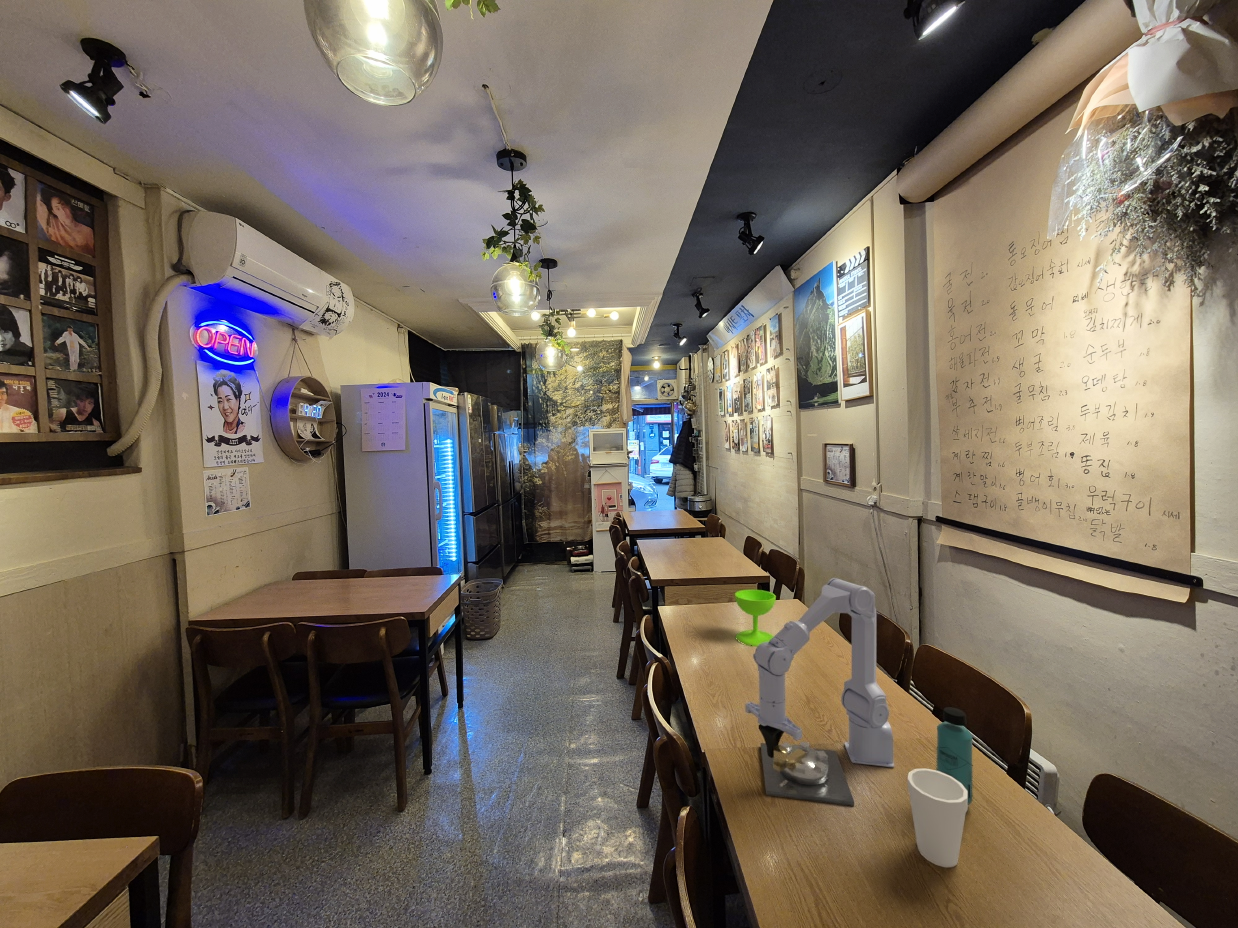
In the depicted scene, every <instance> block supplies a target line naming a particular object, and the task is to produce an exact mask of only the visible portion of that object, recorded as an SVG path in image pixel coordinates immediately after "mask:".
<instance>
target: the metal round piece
mask: <svg viewBox="0 0 1238 928" xmlns="http://www.w3.org/2000/svg"><path fill="white" fill-rule="evenodd" d="M810 744H811V743H810V742H806V741H803V740H801V741H800V743H799V744H790V743H789V742H788V741H787V742H786V741H785V742H784V743H781V744H780V745H781V746H775V747H774V749H773V751H774V763H773V768H774V769H776V770H777V771H779V772H782V773H783V775H785V776H786V777H787V778H789V779H790V780H792V781H795V782H797V783H801V784H806V785H817V784H821V783H823V782H825V781H826V780H827V778H828V761H827V760H828V756H827V755H826V753H825V752H824V751H817V750H815V749H816V748H814V747H810ZM813 748H814V749H813Z"/></svg>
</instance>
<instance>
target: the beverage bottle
mask: <svg viewBox="0 0 1238 928" xmlns="http://www.w3.org/2000/svg"><path fill="white" fill-rule="evenodd" d="M942 719H943V721H944V722H941V723H938V725H937V726H936V730H937V732H936V733H937V735H936V738H937V741H936V743H937V745H936V749H935V751H936V760H935V761H936V764H935V766H936V771H940V772H942V773H944V774H947V775H949V776H951V777H953V778H954V779H956V780H957V781H959V782H960V783H962V785H963V786H964V787H965V789H966V790H967V791H968V806H970V805H971V804H972V802H973V800H974V799H973V775H974V770H973V767H974V765H973V738H974V737H973V735H972V732H971V731H969V729H967V727H966V725H967V724H968V723H967V714H966V713H965V712H964V711H963V710H961V709H959V708H956V707H951V706H950V707H949V706H948V707H944V708H943V714H942Z"/></svg>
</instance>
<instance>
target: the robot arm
mask: <svg viewBox="0 0 1238 928" xmlns="http://www.w3.org/2000/svg"><path fill="white" fill-rule="evenodd" d="M820 593H821V594H820V595H819V596H818V597H817V599H816V600H815V601H814V602H813V603H812V604H811V606H809V608H808V609H807V610H806V612H805V613H803V615H802V616H801V617H800V618H799V619H798V620H791V621H790V620H789V621H788V622H786V623H784V624H783V628H781V629H780V630H779V631H778V632H777V633H776V634H775V635H773V636H774V637H773V638H772V639H771V640H770V641H769V642H766V643H765V642H763V643H761V644H759V645H758V646H757V647H755V652H754V653H753V654H752V658H753V660H754V662H755V663H756V665H757V671H758V702H759V704H757V703H754V702H752V701H749V702H747V703H745V704H744V706H745V707H744V709H745V713H747V714H752V715H754V716H755V717H756V718H757V723H758V730H759V731H760V733H761V736H762V737H763V739H764V743H766V746H767V754H768V756H769V757H770V758H773V757H774V751H773V749H774V747H775V746H778V745H780V744H779V743H780V741H781V739H782V737H783V735H784V733H785V734H787V735H789V736H791V737H792V739H793V740H794V741H796V742H797V741H799V740H801V739H803V729H802V728H800V727H799V726H797V725H796V724H795V722H793V721H792V720H791V719H790V718H789V717H788V716H787V715H786V673H787V672H788V671H789V670H790V668H791V666H792V661H793V660H794V658H795V655H796V654H797V653H798V652H800V650H801V649H802V648H803V647H804V646H805V645H806V644H807V643H808V642H810V639H811V638H810V637H811V635H810V633H811V632H812V631H814V629H816V628H817V627H818V626H819V625H820V624H821V623H823V622H824V621H826V620H827V619H828V618H829V617H830V616H831V615H833V614H834V613H835V614H837V613H838V614H848V615H849V616H850V617H851V678H850V679H847V680H846V681H844V683H843V690H842V693H841V696H840V702H841V705H842V707H843V708H844V709H845V711H846V715H847V716H848V741H845V742H844V743H843V744H844V746H845V749H846V752H847V755H848V757H849V759H850V762H851V763H852V764H860V765H872V766H879V767H887V768H895V763H894V736H893V729H892V726H891V724H890V722H889V721H888V720H889V717H890V709H889V706H888V703H887V695H886V693H885V692H884V690H883V689H882V688H881V687H880V686H879V684H878V682H877V609H876V604H875V603H876V595H875V593H874V592H873V591H872V590H871V589H870V588H868V587H867V586H865V585H859V584H856V583H852V582H849V581H846V580H843V579H840V578H839V577H832V578H831V579H829V580H828V581H827V582H826V584H824V585H823V586H821V591H820Z"/></svg>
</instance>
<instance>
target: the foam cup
mask: <svg viewBox="0 0 1238 928" xmlns="http://www.w3.org/2000/svg"><path fill="white" fill-rule="evenodd" d="M907 791H908V794H909V801H910V806H911V814H912V815H911V816H912V820H913V826H914V828H913V829H914V834H915V840H916V845H917V849H918V851H919V853H920V854H921V856H923V857H924V858H925V859H926V860H927V861H928V862H930V863H932V864H934V865H936V866H939V867H942V868H954V867H955V866H957V865H958V861H959V857H960V851H961V844H962V838H963V833H964V832H963V831H964V825H965V819H966V813H967V812H968V806H969V805H968V791H967V790H966V789H965V787H964V786H963V785H962V783H960V782H959V781H957V780H956V779H954V778H953V777H951V776H949V775H947V774H944V773H942V772H940V771H937V769H936V770H935V769H931V768H924V767H923V768H914V769H912V770H911V771H909V772H908V774H907Z"/></svg>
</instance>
